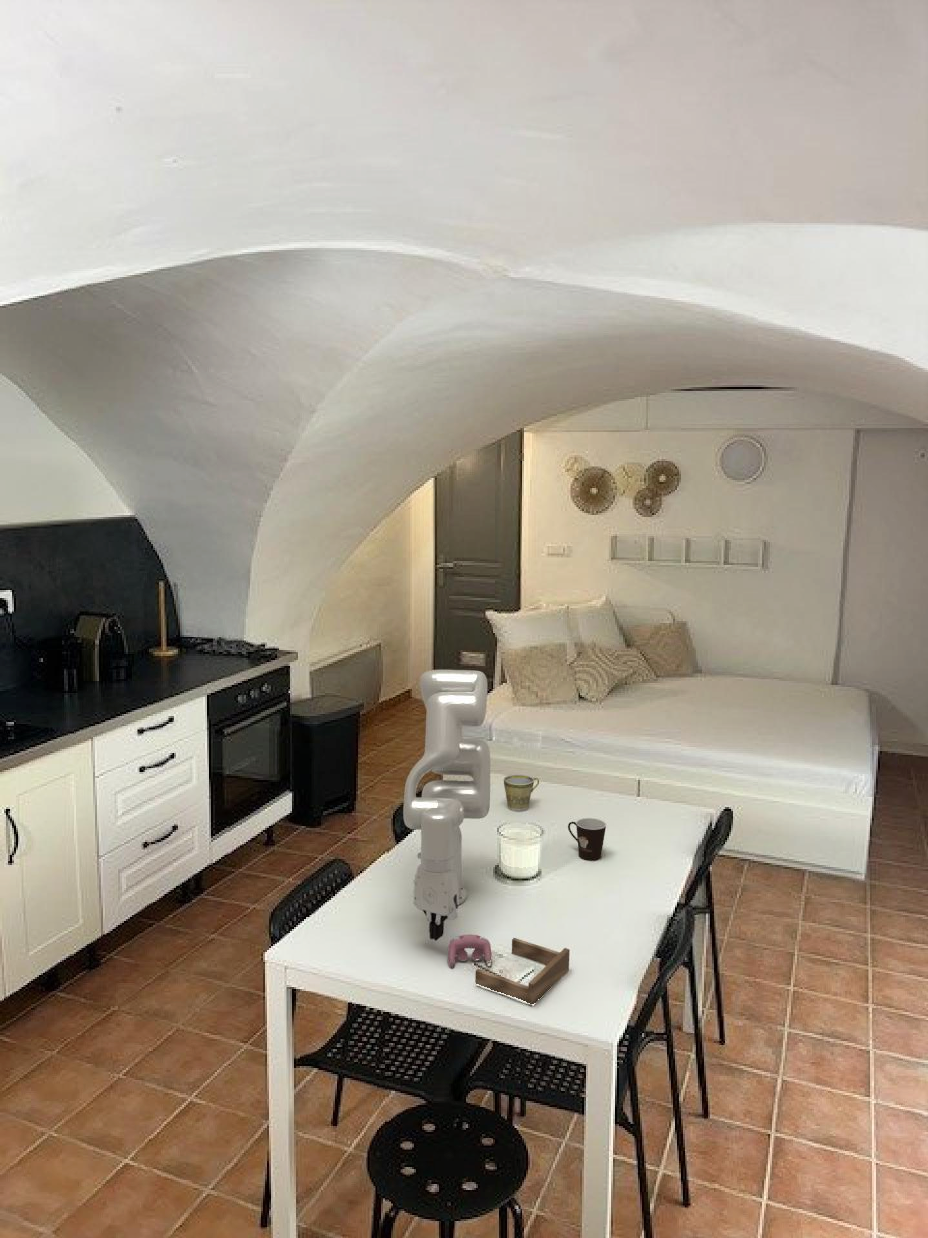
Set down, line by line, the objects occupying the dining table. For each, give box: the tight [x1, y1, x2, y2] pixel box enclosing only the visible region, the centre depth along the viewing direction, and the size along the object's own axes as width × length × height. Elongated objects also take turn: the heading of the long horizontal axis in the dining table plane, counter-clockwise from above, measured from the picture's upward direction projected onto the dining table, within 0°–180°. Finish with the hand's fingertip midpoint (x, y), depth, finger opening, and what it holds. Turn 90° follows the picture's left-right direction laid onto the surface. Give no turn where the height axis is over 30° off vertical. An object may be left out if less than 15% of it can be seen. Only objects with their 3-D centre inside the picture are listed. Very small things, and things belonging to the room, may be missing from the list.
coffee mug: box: [567, 817, 607, 862], centre depth 266 cm, size 12×9×10 cm
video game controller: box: [447, 934, 493, 968], centre depth 208 cm, size 10×5×7 cm, turn 93°
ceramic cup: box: [503, 773, 540, 813], centre depth 303 cm, size 13×10×10 cm
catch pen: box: [474, 937, 570, 1004], centre depth 202 cm, size 14×17×5 cm
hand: (436, 937), depth 213 cm, fingers closed
